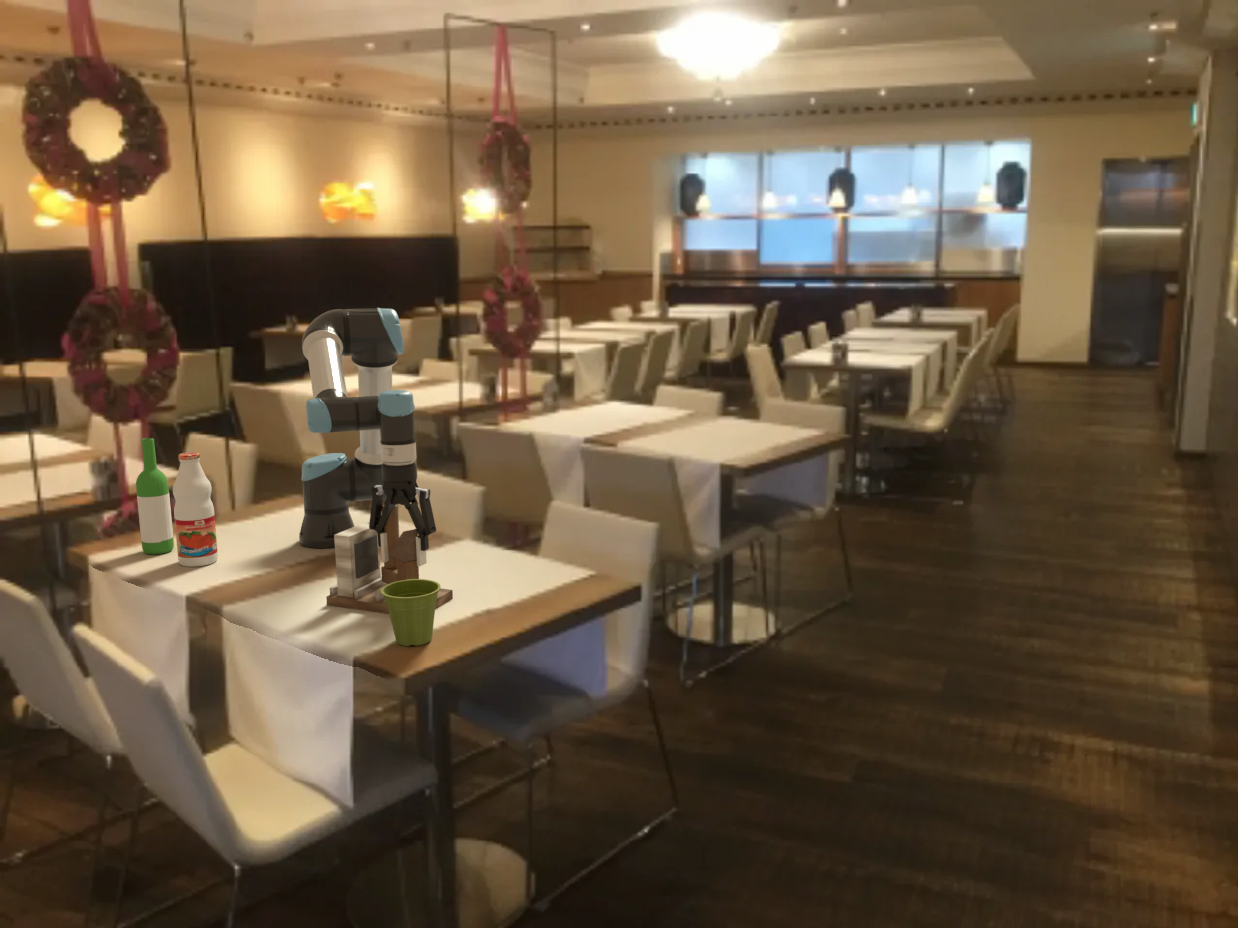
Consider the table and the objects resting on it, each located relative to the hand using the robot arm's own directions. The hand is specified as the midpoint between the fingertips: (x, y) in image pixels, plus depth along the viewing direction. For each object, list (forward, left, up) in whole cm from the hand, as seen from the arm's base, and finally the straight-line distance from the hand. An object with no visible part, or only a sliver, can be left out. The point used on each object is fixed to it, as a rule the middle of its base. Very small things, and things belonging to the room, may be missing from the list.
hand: (404, 562), depth 241 cm
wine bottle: (-13, -84, -10) cm, 86 cm away
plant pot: (+19, +14, -10) cm, 25 cm away
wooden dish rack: (0, -4, -10) cm, 11 cm away
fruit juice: (-9, -67, -10) cm, 69 cm away
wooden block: (0, -2, -6) cm, 6 cm away
